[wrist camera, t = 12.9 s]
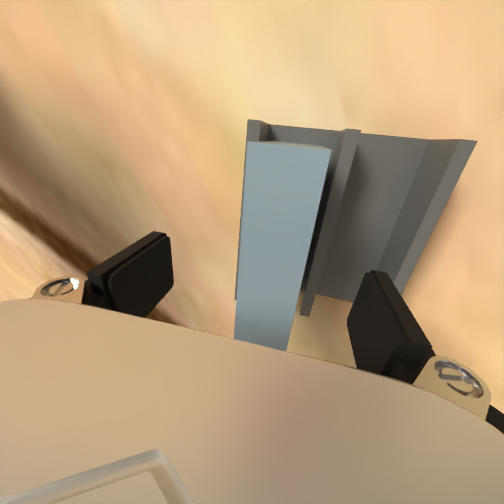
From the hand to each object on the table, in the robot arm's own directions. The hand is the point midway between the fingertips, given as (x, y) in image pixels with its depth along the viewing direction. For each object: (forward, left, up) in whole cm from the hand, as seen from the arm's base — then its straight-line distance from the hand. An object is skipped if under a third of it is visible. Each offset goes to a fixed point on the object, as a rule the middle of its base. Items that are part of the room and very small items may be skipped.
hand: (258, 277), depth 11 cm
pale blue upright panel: (+1, 0, -10) cm, 10 cm away
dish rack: (+3, 0, -11) cm, 11 cm away
